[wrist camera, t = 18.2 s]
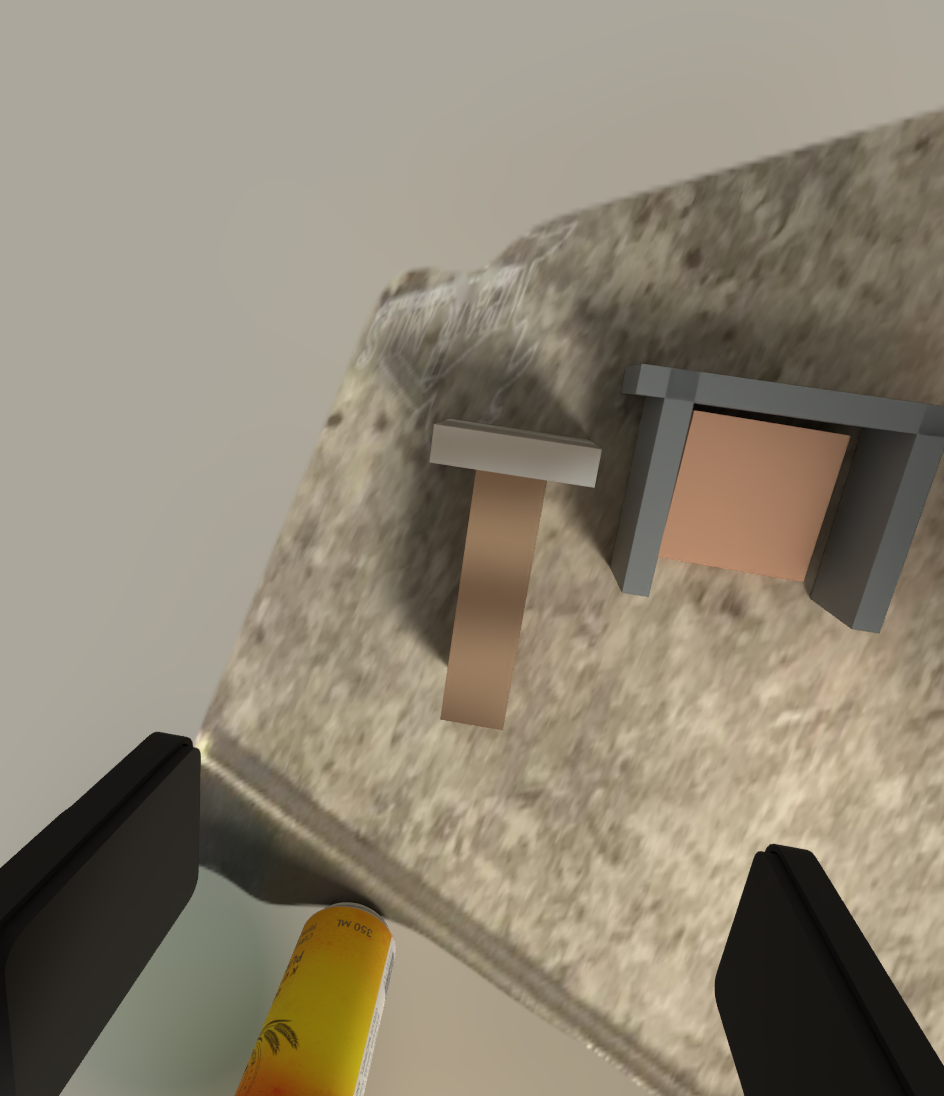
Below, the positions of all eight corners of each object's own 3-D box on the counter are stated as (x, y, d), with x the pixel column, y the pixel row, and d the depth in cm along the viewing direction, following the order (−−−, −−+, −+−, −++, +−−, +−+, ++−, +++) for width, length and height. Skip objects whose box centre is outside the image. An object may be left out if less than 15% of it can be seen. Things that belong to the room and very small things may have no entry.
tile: (828, 432, 29) (850, 435, 27) (785, 570, 30) (803, 582, 29) (683, 409, 29) (694, 410, 27) (649, 546, 31) (657, 556, 29)
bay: (924, 409, 27) (988, 412, 24) (858, 605, 30) (906, 637, 26) (625, 367, 28) (641, 363, 24) (586, 563, 31) (595, 588, 27)
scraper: (541, 686, 33) (544, 737, 28) (417, 665, 33) (399, 712, 28) (589, 439, 29) (602, 449, 24) (449, 418, 30) (433, 424, 25)
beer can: (302, 892, 38) (165, 1202, 23) (396, 898, 37) (316, 1219, 23) (309, 967, 39) (185, 1300, 25) (400, 973, 39) (326, 1318, 24)
